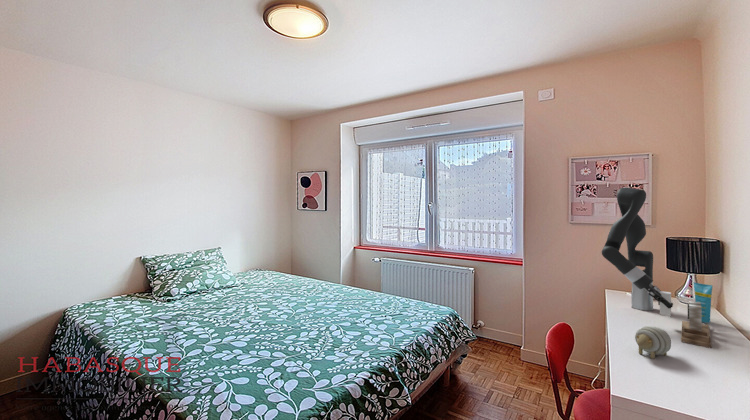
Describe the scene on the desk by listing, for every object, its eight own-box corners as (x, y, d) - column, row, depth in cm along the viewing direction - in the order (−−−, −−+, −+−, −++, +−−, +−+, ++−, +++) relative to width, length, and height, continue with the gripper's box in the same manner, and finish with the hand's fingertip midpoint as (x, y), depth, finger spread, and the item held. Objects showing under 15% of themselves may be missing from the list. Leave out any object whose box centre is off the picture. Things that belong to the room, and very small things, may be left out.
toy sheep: (626, 353, 128) (626, 326, 128) (649, 345, 135) (649, 319, 134) (658, 365, 118) (658, 335, 118) (681, 355, 125) (681, 327, 125)
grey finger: (658, 314, 154) (658, 292, 154) (658, 312, 156) (658, 290, 156) (671, 316, 151) (670, 293, 150) (671, 314, 153) (671, 292, 152)
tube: (691, 319, 162) (690, 282, 161) (696, 318, 164) (695, 281, 163) (710, 324, 155) (710, 285, 155) (715, 322, 157) (715, 284, 157)
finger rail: (681, 341, 137) (680, 313, 137) (682, 323, 157) (681, 298, 157) (711, 347, 131) (711, 318, 130) (708, 328, 150) (708, 302, 150)
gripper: (643, 275, 153) (678, 305, 145) (646, 270, 163) (679, 298, 154) (629, 284, 157) (663, 314, 148) (633, 279, 167) (664, 306, 158)
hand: (671, 306), depth 152 cm, fingers closed on grey finger, 3 cm apart
